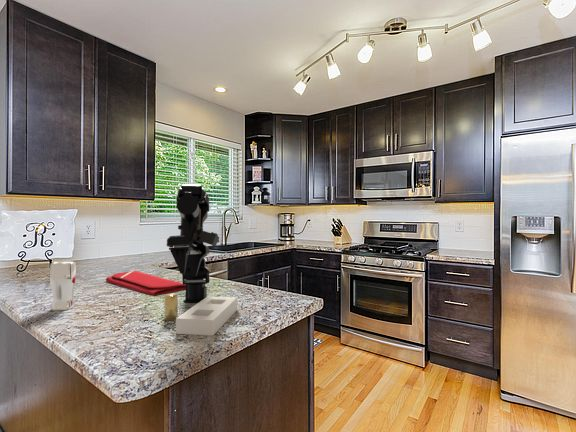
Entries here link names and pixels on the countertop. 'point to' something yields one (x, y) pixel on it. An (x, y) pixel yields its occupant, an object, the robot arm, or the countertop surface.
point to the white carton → (62, 284)
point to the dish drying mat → (145, 283)
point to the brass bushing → (171, 307)
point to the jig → (206, 316)
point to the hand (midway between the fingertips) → (188, 274)
